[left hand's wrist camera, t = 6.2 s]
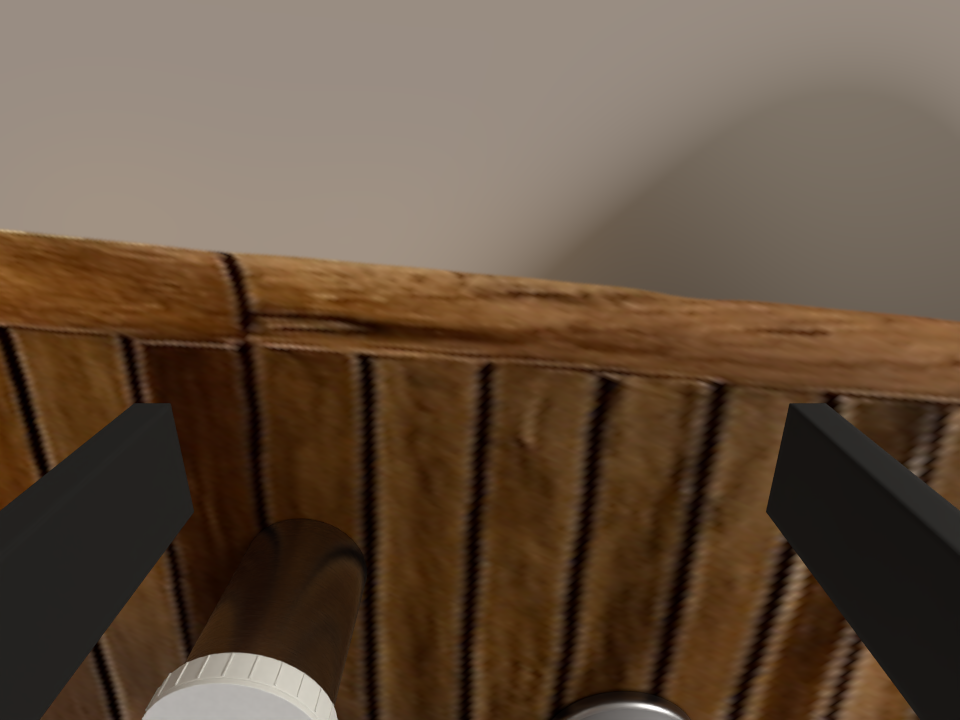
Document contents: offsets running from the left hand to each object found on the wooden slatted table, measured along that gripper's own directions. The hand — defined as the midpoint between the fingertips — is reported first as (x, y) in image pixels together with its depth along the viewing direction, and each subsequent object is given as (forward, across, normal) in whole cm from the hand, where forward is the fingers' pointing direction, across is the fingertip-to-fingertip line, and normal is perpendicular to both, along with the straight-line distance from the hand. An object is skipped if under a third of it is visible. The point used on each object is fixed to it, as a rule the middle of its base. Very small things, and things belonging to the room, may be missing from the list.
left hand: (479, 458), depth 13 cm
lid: (+13, +14, +28) cm, 34 cm away
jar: (+28, +14, +28) cm, 42 cm away
